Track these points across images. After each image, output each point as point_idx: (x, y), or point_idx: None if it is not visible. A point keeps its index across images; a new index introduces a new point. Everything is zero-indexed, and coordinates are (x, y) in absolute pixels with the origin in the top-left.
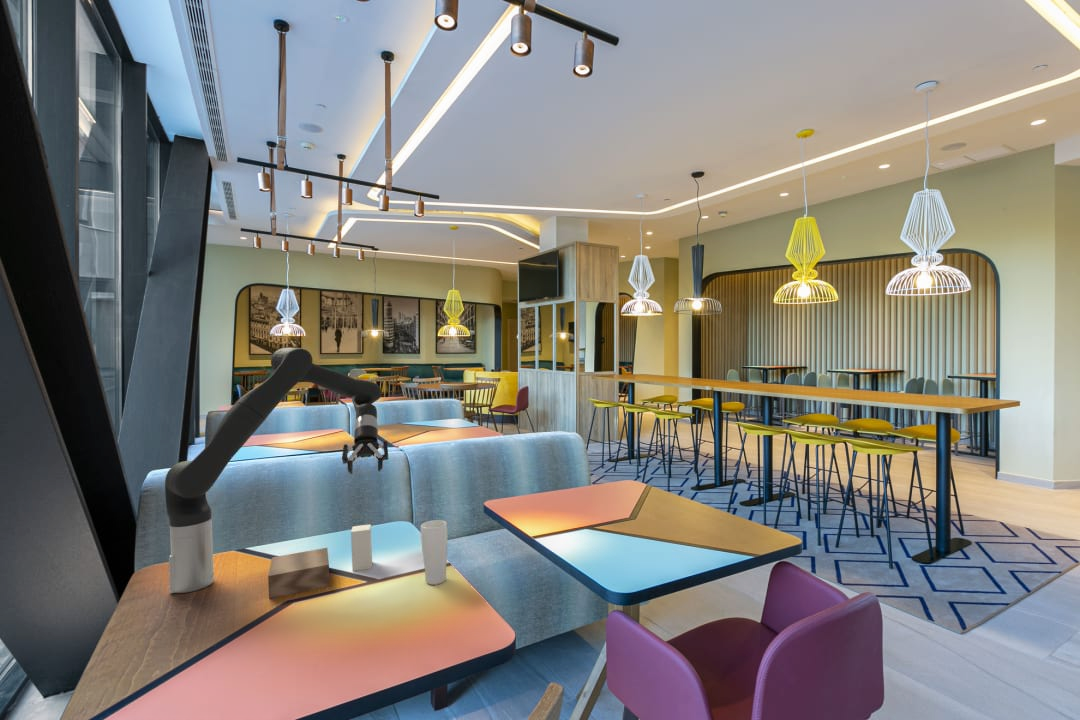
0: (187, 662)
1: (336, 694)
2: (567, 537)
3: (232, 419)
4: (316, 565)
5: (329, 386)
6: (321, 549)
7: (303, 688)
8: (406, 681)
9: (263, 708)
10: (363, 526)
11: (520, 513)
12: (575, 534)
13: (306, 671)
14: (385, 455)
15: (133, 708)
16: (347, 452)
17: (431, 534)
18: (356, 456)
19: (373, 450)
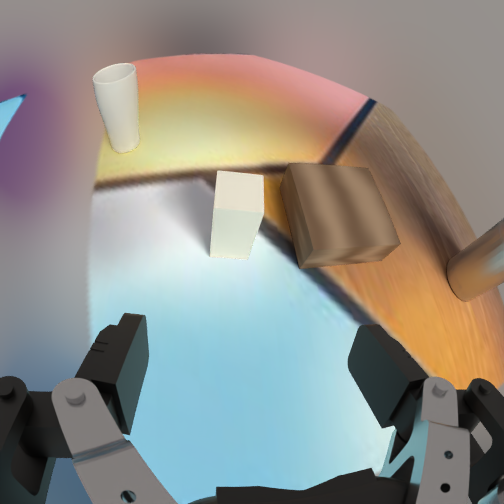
0: (362, 117)
1: (243, 58)
2: None
3: None
4: (309, 168)
5: None
6: (323, 243)
7: (265, 66)
8: (201, 54)
9: (284, 64)
10: (233, 199)
11: None
12: None
13: (267, 74)
14: (21, 381)
15: (361, 95)
16: (490, 490)
17: (127, 71)
18: (397, 465)
19: (153, 491)
